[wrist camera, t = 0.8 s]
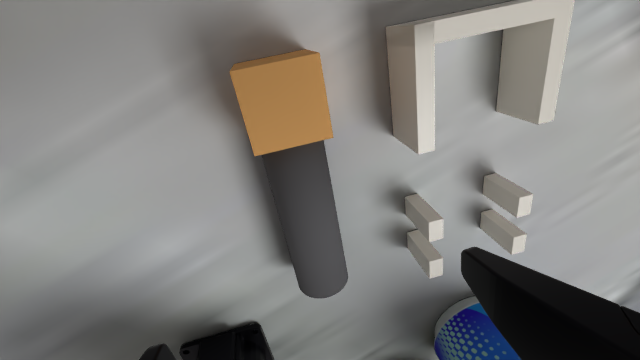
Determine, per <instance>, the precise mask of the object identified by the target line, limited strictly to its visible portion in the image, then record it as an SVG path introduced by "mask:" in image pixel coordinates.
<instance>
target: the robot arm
mask: <svg viewBox="0 0 640 360" xmlns="http://www.w3.org/2000/svg"><path fill="white" fill-rule="evenodd" d="M461 272H462V275H463V277H464V279H465V281H466V282H467V284H468V285H469V287H470V288H471V290H472V292H473V293H474V295H475V296H476V298H477V299H478V301H479V303H480V304H481V306H482V307H483V309H484V310H485V312H486V313H487V315H488V317H489V318H490V320H491V321H492V322H493V324H494V325H495V327H496V328H497V329H498V331H499V332H500V333H501V334H502V336H503V337H504V338H505V339H506V341H507V342H508V343H509V345H510V346H511V347H512V348H513V350H514V351H515V352H516V353H517V355H518V356H519V357H520V359H521V360H640V313H639V312H636V311H634V310H631V309H629V308H626V307H624V306H621V307H620V306H619V305H618V304H616V303H614V302H611V301H609V300H606V299H604V298H601V297H599V296H596V295H594V294H591V293H589V292H586V291H584V290H581V289H579V288H577V287H574V286H572V285H569V284H567V283H564V282H562V281H559V280H557V279H554V278H552V277H549V276H547V275H544V274H542V273H539V272H537V271H534V270H532V269H530V268H527V267H525V266H522V265H520V264H517V263H515V262H512V261H510V260H507V259H505V258H502V257H500V256H497V255H495V254H492V253H490V252H488V251H485V250H483V249H480V248H478V247H471V248H468V249H465V250H463V251H462V253H461ZM179 353H180V355H181V357H182V358H183V360H274V358H273V355H272V353H271V350H270V347H269V345H268V342H267V340H266V337H265V335H264V332H263V330H262V327H261V325H259V324H251V325H248V326H244V327H241V328H238V329H234V330H231V331H227V332H224V333H220V334H217V335H213V336H210V337H206V338H203V339H200V340H196V341H193V342H189V343H186V344H183V345H182V346H181V348H180V352H179ZM139 360H176V358H175V357H174V355H173V354H172V352H171V351H170V349H169V348H168V346H167V345H166V344H164V343H162V344H158V345H155V346H152V347H150V348H148V349H147V350H146V351H145V352H144V354H143V355H142V356H141V358H140V359H139Z"/></svg>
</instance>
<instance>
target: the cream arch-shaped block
mask: <svg viewBox="0 0 640 360" xmlns="http://www.w3.org/2000/svg"><path fill="white" fill-rule="evenodd" d="M574 2H575V0H515V1H510V2H505V3H500V4H495V5H490V6H485V7H480V8H475V9H471V10H466V11H461V12H456V13H451V14H446V15H441V16H436V17H431V18H427V19H422V20H417V21H412V22H407V23H402V24H397V25H392V26H388V27H386V39H387V53H388V67H389V81H390V96H391V110H392V124H393V136H394V137H395V138H396V139H398V140H399V141H401V142H402V143H403V144H405V145H406V146H408V147H409V148H410V149H412V150H413V151H414V152H416V153H417V154H422V153H426V152H430V151H434V150H435V44H436V43H441V42H445V41H450V40H455V39H460V38H464V37H469V36H474V35H478V34H483V33H488V32H492V31H497V30H502V29H503V40H502V51H501V63H500V74H499V85H498V97H497V108H496V112H500V113H503V114H506V115H509V116H512V117H515V118H519V119H522V120H525V121H528V122H531V123H535V124H538V125H539V124H543V123H547V122H551V121H553V120H554V115H555V109H556V103H557V98H558V92H559V86H560V81H561V75H562V70H563V64H564V58H565V53H566V47H567V41H568V36H569V30H570V24H571V19H572V13H573V7H574Z"/></svg>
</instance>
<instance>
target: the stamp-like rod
mask: <svg viewBox="0 0 640 360" xmlns="http://www.w3.org/2000/svg"><path fill="white" fill-rule="evenodd" d="M230 75H231V79H232V82H233V85H234V89H235V92H236V95H237V99H238V102H239V105H240V109H241V112H242V116H243V119H244V122H245V126H246V129H247V132H248V136H249V139H250V142H251V146H252V149H253V153H254V156H259V155H262V158H263V161H264V165H265V168H266V172H267V175H268V179H269V182H270V186H271V189H272V193H273V197H274V200H275V204H276V207H277V211H278V214H279V218H280V221H281V225H282V228H283V232H284V235H285V239H286V242H287V246H288V249H289V253H290V256H291V260H292V263H293V267H294V270H295V274H296V277H297V281H298V284H299V288H300V290H301V291H302V292H303V293H304V294H305V295H307V296H309V297H312V298H326V297H330V296H333V295H335V294H336V293H338V292H339V291H341V290H342V289H343V287H344V286H345V284H346V282H347V279H348V273H347V268H346V262H345V257H344V251H343V246H342V240H341V234H340V229H339V223H338V218H337V212H336V207H335V201H334V196H333V190H332V185H331V179H330V174H329V168H328V163H327V157H326V152H325V146H324V140H325V139H330V138H333V133H332V126H331V120H330V114H329V108H328V102H327V96H326V90H325V84H324V78H323V72H322V66H321V60H320V53H318V52H314V51H310V50H306V49H304V50H299V51H295V52H290V53H285V54H280V55H275V56H270V57H266V58H261V59H256V60H251V61H246V62H241V63H237V64H234V65H233V67H232V68H231V70H230Z"/></svg>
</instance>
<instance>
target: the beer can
mask: <svg viewBox="0 0 640 360" xmlns="http://www.w3.org/2000/svg"><path fill="white" fill-rule="evenodd" d="M434 333H435V341H434V349H435V352H436V354H437V356H438V358H439V360H521V359H520V357H519V356H518V355H517V353H516V352H515V351H514V350H513V348H512V347H511V346H510V345H509V343H508V342H507V341H506V339H505V338H504V337H503V336H502V334H501V333H500V332H499V331H498V329H497V328H496V327H495V325H494V324H493V322H492V321H491V320H490V318H489V317H488V315H487V313H486V312H485V310H484V309H483V307H482V306H481V304H480V303H479V301H478V299H477V298H476V296H474V297H469V298H466V299H463V300H461V301H459V302H457V303H455V304H454V305H452V306H451V307H450V308H448V309H447V310H446V311H445V312H444V313H443V314H442V315H441V317H440V318H439V320H438V321H437V323H436V326H435V332H434Z"/></svg>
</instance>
